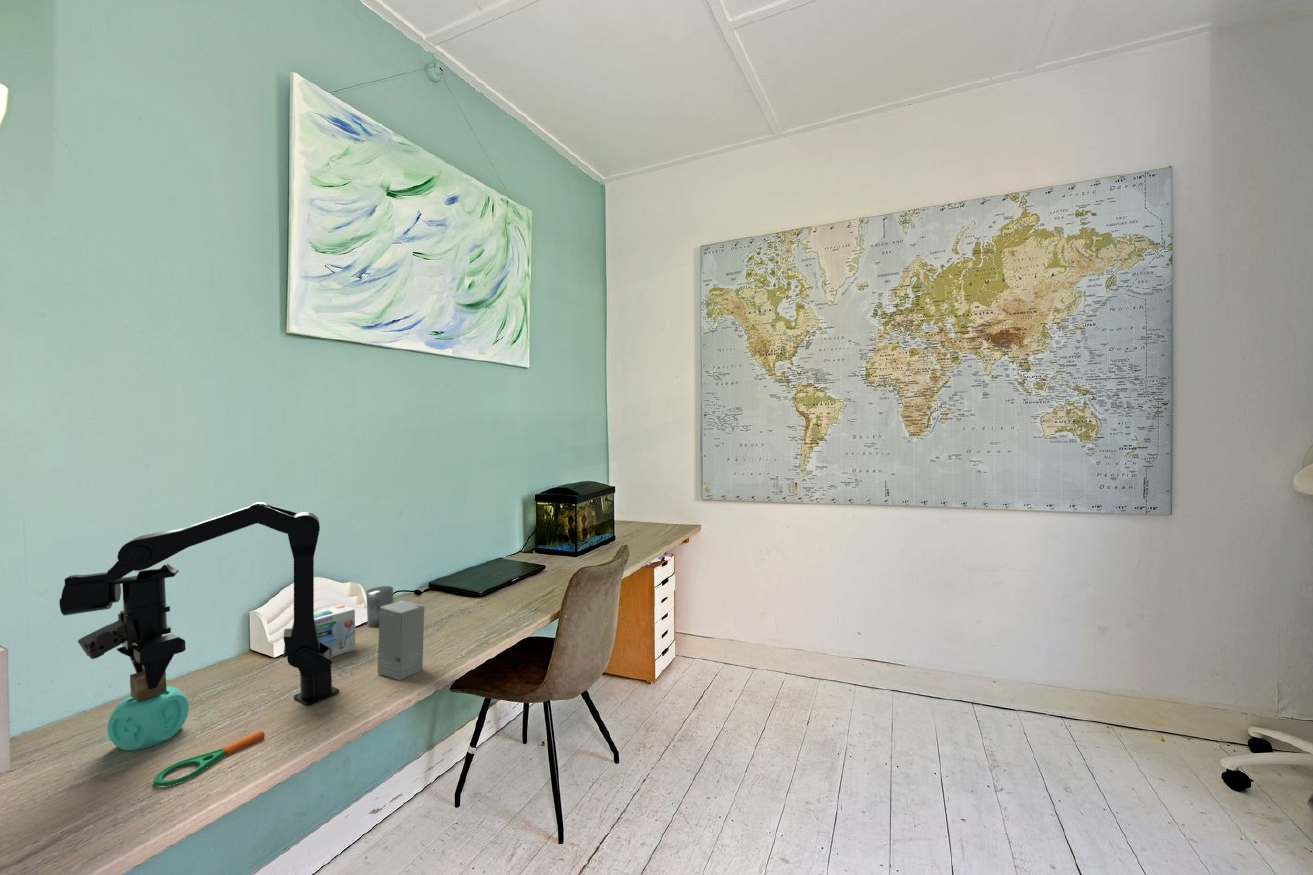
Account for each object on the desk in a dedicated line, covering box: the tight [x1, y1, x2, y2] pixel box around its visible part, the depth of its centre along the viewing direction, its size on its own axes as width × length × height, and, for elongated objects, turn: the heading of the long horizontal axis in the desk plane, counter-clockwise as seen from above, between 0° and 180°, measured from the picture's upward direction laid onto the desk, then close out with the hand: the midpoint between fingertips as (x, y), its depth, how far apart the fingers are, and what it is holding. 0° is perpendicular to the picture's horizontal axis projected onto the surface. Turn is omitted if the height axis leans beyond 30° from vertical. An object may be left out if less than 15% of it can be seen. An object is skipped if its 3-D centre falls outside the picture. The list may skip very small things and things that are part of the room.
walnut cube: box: [129, 670, 167, 701], centre depth 99 cm, size 4×4×4 cm
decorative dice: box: [107, 686, 190, 751], centre depth 99 cm, size 8×8×8 cm
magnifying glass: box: [153, 730, 266, 787], centre depth 92 cm, size 15×6×2 cm, turn 150°
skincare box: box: [377, 600, 425, 681], centre depth 124 cm, size 8×7×16 cm
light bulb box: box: [314, 604, 356, 658], centre depth 136 cm, size 11×7×11 cm, turn 143°
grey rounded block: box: [366, 585, 394, 628], centre depth 156 cm, size 7×7×10 cm
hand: (148, 685), depth 99 cm, fingers open, 4 cm apart
